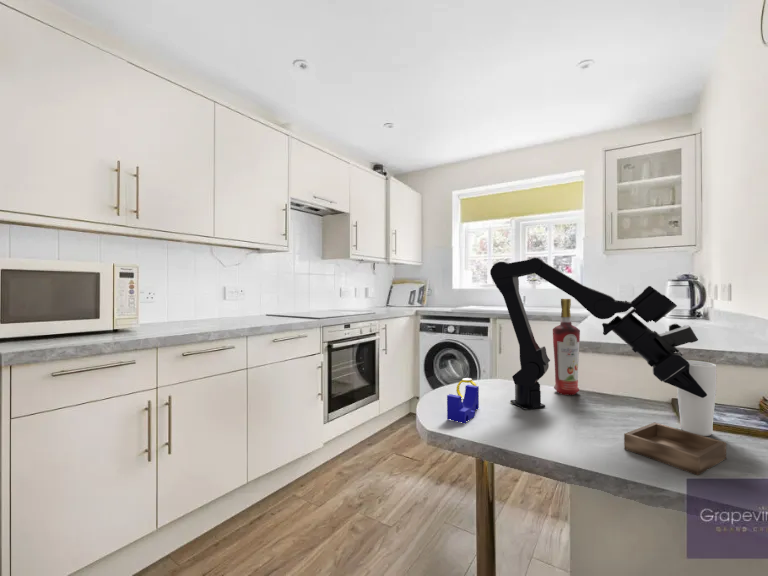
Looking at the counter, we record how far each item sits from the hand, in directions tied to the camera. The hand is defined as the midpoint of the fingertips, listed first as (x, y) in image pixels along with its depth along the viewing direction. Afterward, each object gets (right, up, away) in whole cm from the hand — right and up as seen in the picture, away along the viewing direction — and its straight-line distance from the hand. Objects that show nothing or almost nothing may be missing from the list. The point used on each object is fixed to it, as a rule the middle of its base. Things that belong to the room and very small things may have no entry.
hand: (701, 391), depth 79 cm
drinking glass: (-1, -9, +1) cm, 9 cm away
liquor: (-14, -9, +30) cm, 34 cm away
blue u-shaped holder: (-48, -10, +13) cm, 50 cm away
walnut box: (-13, -9, -10) cm, 19 cm away
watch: (-45, -10, +25) cm, 52 cm away
